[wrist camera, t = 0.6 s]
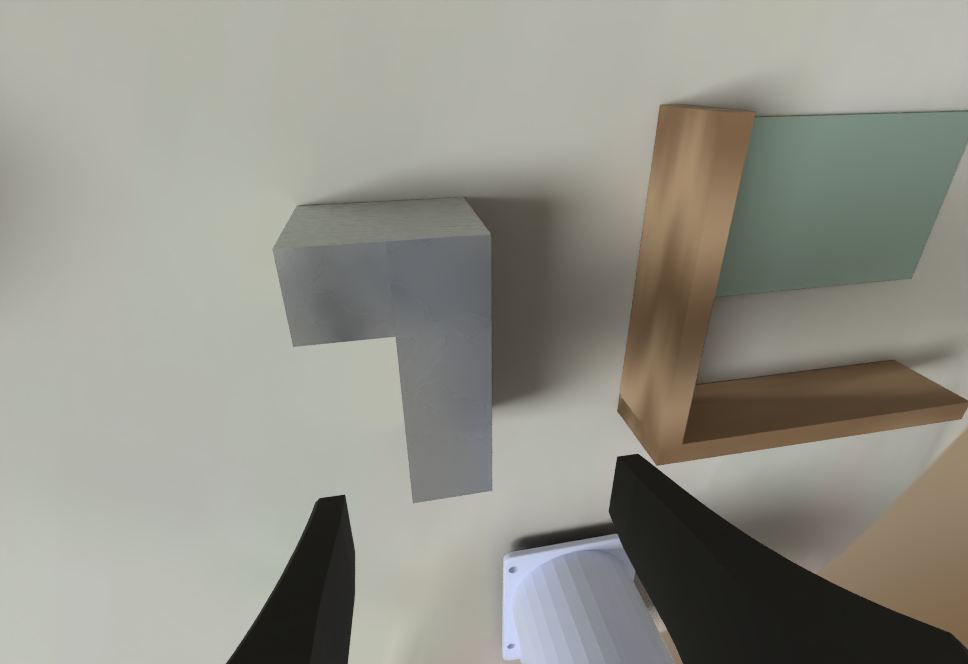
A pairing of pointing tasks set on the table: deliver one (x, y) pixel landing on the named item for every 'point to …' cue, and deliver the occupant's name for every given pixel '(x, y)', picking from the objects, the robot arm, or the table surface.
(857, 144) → the pad
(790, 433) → the brown wooden l-shaped piece
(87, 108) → the table surface
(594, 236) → the table surface
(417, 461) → the bracket
